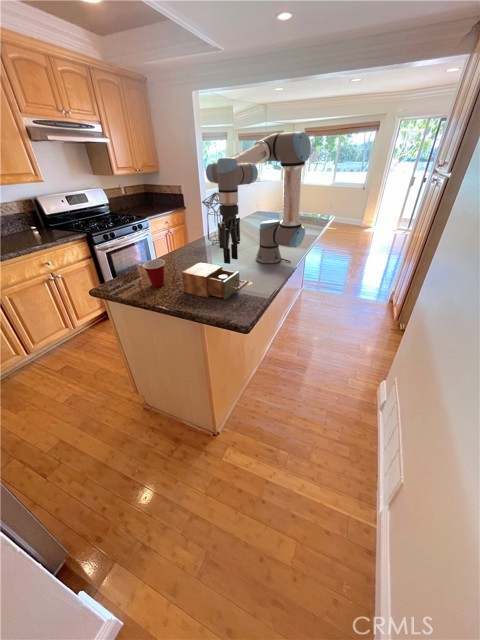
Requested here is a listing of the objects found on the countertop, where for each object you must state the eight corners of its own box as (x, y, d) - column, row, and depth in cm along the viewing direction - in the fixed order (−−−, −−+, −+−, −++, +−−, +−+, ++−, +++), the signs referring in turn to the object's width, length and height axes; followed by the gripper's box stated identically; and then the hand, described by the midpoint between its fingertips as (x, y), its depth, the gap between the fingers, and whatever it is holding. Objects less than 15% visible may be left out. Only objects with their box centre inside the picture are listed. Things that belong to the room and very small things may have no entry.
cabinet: (223, 286, 135) (222, 266, 129) (207, 297, 124) (205, 276, 119) (201, 281, 140) (199, 262, 135) (184, 292, 130) (181, 272, 124)
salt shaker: (220, 287, 129) (219, 274, 125) (229, 288, 128) (228, 274, 125) (218, 291, 125) (217, 278, 121) (227, 292, 124) (226, 278, 121)
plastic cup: (142, 288, 135) (137, 265, 128) (155, 279, 143) (151, 258, 137) (160, 291, 131) (156, 267, 125) (173, 282, 140) (169, 260, 134)
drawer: (250, 290, 127) (251, 273, 123) (237, 302, 118) (237, 284, 113) (218, 284, 135) (217, 267, 130) (203, 294, 125) (201, 277, 121)
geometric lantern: (222, 248, 188) (219, 194, 170) (204, 246, 195) (199, 193, 176) (233, 243, 200) (232, 191, 181) (216, 240, 206) (212, 190, 188)
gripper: (232, 200, 113) (234, 253, 125) (207, 206, 99) (211, 266, 111) (248, 200, 110) (248, 256, 122) (224, 208, 96) (227, 269, 108)
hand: (231, 260), depth 117 cm, fingers open, 6 cm apart
